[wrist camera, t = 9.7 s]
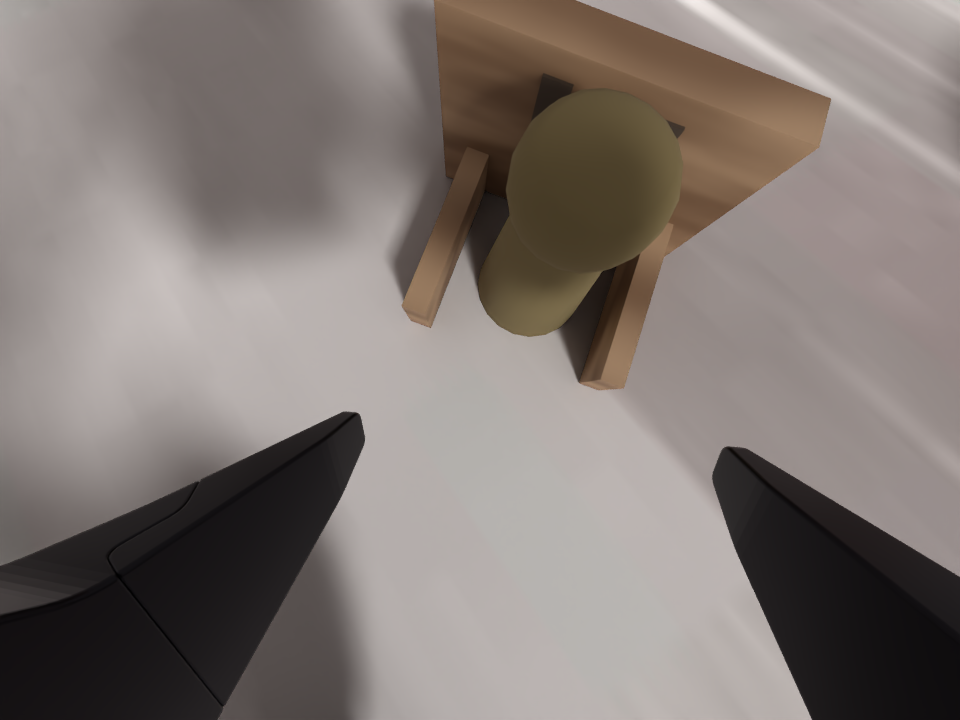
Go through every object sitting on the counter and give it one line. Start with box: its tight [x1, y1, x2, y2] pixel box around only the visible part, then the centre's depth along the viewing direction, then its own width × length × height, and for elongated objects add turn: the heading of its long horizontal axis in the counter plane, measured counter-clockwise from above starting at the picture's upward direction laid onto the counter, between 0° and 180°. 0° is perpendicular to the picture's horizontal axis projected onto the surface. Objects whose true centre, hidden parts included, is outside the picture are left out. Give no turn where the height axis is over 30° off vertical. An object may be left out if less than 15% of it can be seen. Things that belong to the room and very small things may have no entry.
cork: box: [478, 88, 683, 337], centre depth 14 cm, size 6×6×11 cm
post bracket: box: [402, 0, 831, 390], centre depth 15 cm, size 11×14×9 cm
